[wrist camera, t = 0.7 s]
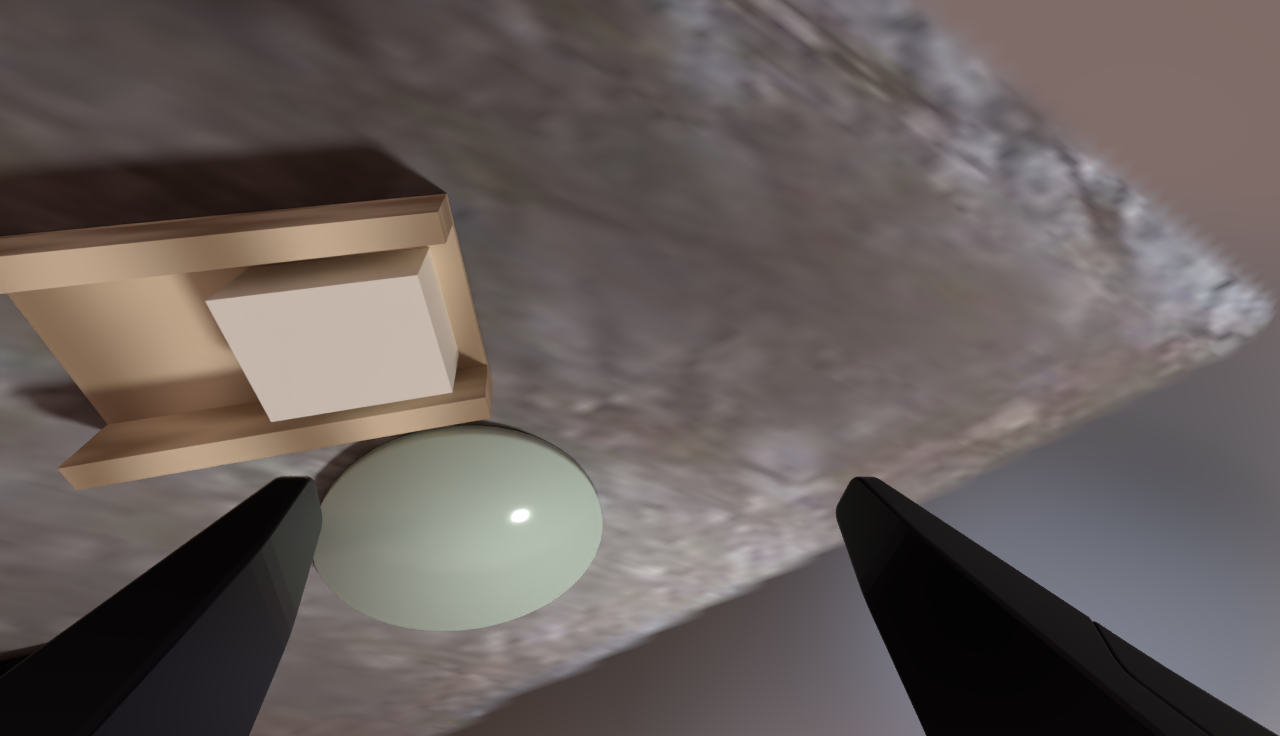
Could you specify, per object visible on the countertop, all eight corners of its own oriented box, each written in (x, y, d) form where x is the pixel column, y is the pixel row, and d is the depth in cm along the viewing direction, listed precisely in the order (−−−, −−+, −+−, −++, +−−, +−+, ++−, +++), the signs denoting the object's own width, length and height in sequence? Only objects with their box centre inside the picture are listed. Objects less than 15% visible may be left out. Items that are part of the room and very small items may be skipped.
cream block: (301, 377, 19) (271, 422, 17) (248, 268, 17) (204, 301, 15) (458, 353, 20) (452, 392, 18) (429, 247, 18) (417, 275, 16)
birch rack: (129, 438, 20) (76, 490, 17) (-21, 238, 15) (-120, 268, 13) (492, 380, 22) (490, 418, 19) (446, 193, 18) (437, 211, 15)
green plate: (371, 642, 28) (368, 655, 28) (263, 457, 21) (256, 470, 21) (609, 584, 31) (612, 596, 30) (586, 401, 24) (588, 411, 23)
